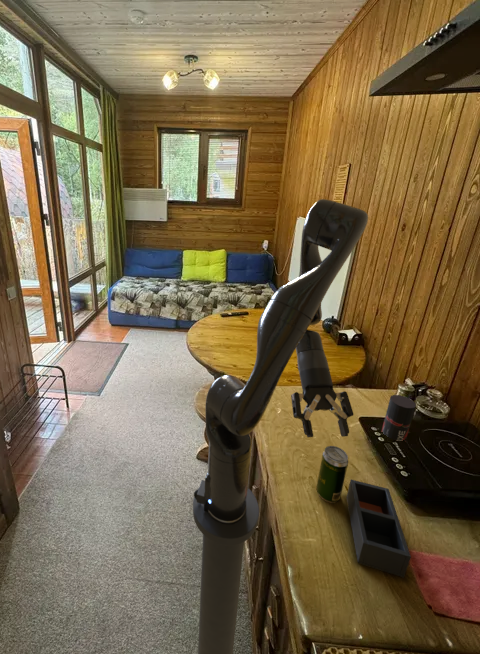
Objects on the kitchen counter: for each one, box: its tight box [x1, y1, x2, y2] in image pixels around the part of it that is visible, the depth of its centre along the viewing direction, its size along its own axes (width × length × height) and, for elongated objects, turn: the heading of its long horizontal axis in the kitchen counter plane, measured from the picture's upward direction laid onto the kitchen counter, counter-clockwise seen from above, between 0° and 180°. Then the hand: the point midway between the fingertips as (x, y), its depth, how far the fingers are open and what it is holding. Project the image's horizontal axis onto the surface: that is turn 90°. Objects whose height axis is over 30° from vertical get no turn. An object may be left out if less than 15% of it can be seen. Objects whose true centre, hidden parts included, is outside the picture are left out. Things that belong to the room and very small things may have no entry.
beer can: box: [316, 445, 349, 504], centre depth 72 cm, size 5×5×12 cm
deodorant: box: [381, 394, 417, 441], centre depth 87 cm, size 6×6×15 cm
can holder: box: [345, 479, 412, 578], centre depth 64 cm, size 8×15×6 cm, turn 162°
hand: (327, 436), depth 74 cm, fingers open, 8 cm apart
